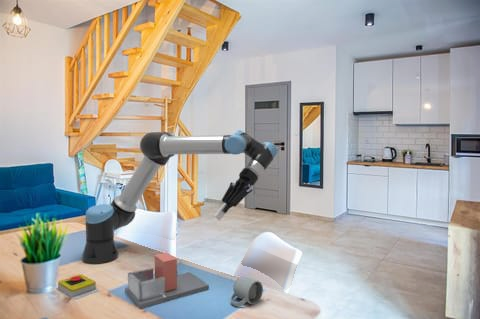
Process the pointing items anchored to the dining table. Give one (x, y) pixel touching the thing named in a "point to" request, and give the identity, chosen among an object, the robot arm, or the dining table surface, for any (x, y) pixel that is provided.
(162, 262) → the pink box with dome
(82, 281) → the emergency button
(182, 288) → the stand board
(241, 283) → the ceramic mug
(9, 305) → the dining table surface
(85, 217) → the robot arm
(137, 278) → the grey box holder bracket
